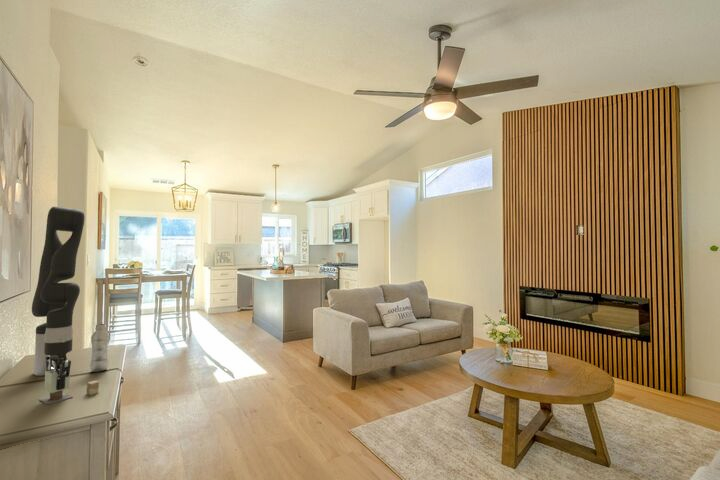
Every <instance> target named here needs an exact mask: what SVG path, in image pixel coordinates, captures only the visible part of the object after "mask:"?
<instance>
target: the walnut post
mask: <svg viewBox="0 0 720 480" xmlns="http://www.w3.org/2000/svg"><path fill="white" fill-rule="evenodd" d="M63 391H64V390H61V391H58V392H54V393H49V396H45V397H42V398H39V400H38V401H39V402H41V403H43V404H45V405H47V406H49V405H50V406H51V405H52V404H56V403H60V402H62V401H65V400H70V399H73V398H74V397H73V396H72V395H70V394H68V393H66V392H63Z"/></svg>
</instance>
